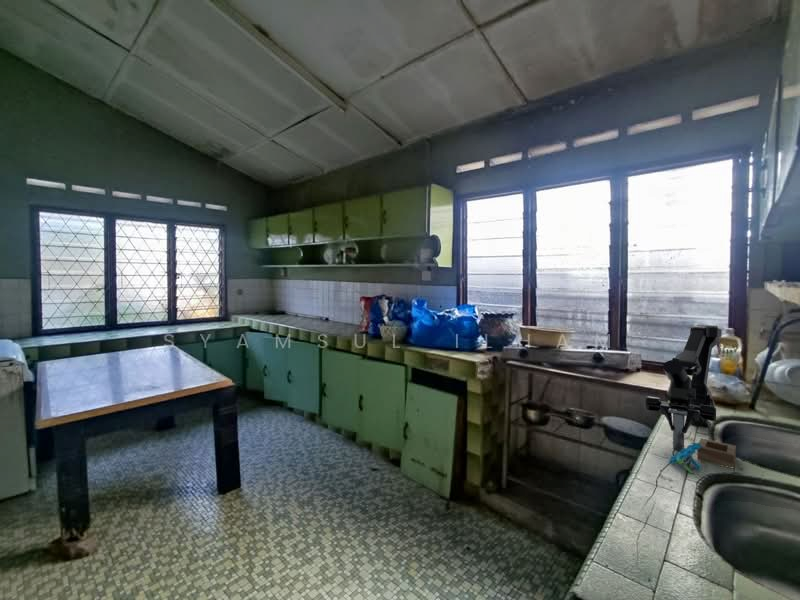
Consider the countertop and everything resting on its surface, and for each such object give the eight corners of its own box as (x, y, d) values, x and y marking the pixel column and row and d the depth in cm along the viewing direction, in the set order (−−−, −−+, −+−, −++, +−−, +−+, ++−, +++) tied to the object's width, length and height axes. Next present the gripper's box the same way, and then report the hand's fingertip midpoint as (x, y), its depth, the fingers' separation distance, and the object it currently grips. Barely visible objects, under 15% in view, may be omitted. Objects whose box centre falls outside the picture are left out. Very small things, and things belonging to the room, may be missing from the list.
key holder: (700, 449, 119) (700, 437, 118) (735, 458, 113) (735, 445, 112) (697, 459, 113) (697, 446, 112) (733, 468, 107) (734, 455, 106)
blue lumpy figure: (675, 449, 116) (701, 436, 109) (691, 466, 113) (720, 454, 107) (660, 464, 110) (687, 452, 104) (677, 483, 107) (706, 471, 101)
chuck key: (668, 445, 123) (668, 407, 122) (687, 449, 119) (687, 410, 118) (666, 448, 120) (667, 409, 120) (686, 453, 117) (686, 413, 116)
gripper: (646, 373, 127) (641, 413, 119) (716, 381, 115) (716, 427, 107) (648, 389, 134) (645, 428, 126) (715, 399, 121) (716, 443, 114)
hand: (678, 431), depth 118 cm, fingers closed on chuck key, 3 cm apart
